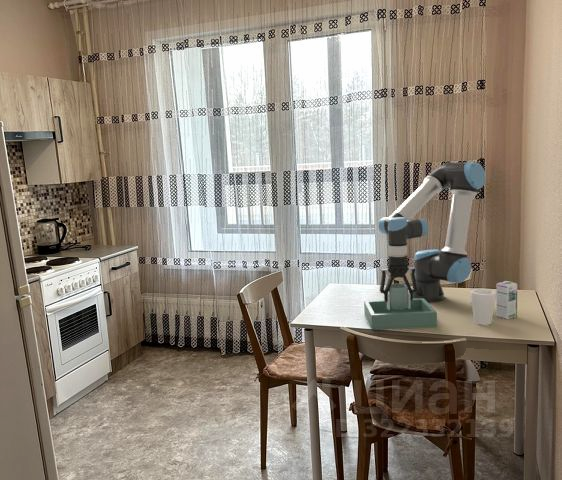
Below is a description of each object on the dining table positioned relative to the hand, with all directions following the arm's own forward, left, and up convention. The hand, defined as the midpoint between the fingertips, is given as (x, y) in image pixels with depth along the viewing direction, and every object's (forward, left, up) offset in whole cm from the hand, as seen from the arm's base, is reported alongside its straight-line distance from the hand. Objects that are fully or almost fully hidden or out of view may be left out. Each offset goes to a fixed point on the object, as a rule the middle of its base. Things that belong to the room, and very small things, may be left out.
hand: (398, 308), depth 211 cm
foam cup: (-32, +8, -5) cm, 33 cm away
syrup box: (-44, +2, -5) cm, 44 cm away
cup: (0, 0, -1) cm, 1 cm away
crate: (0, 0, -5) cm, 5 cm away
